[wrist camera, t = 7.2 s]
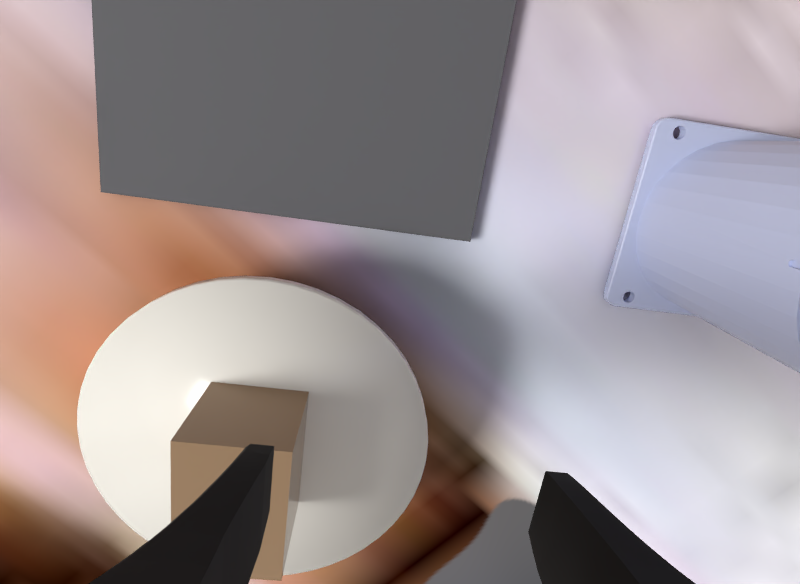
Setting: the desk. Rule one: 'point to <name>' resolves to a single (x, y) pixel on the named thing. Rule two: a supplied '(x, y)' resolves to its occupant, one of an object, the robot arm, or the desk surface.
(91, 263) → the desk surface
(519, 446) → the desk surface
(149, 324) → the lid
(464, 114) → the mat
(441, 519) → the desk surface
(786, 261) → the robot arm
